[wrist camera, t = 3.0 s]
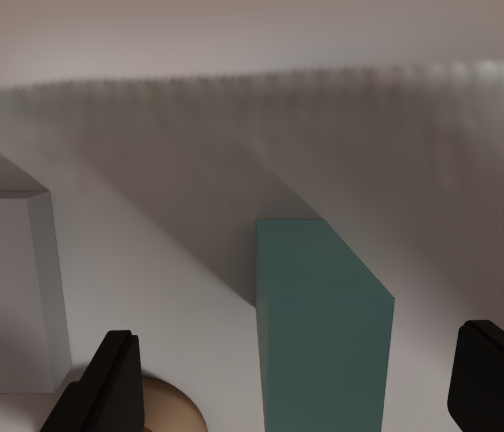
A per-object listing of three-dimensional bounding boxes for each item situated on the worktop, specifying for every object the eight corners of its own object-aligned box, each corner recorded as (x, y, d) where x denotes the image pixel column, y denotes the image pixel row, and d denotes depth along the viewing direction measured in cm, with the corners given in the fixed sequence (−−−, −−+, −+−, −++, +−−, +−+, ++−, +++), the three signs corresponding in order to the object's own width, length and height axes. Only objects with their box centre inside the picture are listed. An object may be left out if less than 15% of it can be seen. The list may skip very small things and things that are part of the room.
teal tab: (323, 219, 19) (394, 298, 10) (319, 307, 20) (379, 447, 11) (256, 219, 19) (268, 299, 10) (255, 308, 20) (266, 449, 11)
